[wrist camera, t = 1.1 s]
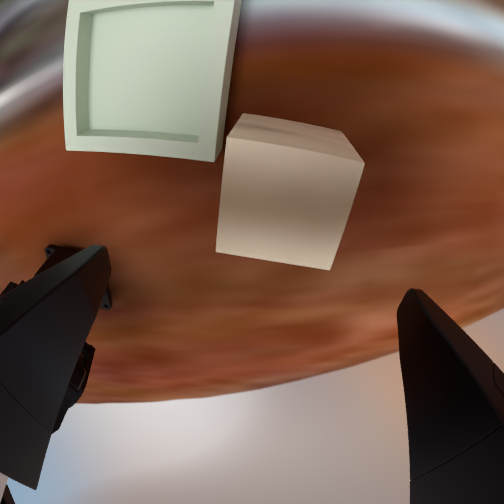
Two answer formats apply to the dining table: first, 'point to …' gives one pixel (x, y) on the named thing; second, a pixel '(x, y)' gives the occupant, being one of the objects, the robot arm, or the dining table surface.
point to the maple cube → (286, 191)
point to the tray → (148, 76)
